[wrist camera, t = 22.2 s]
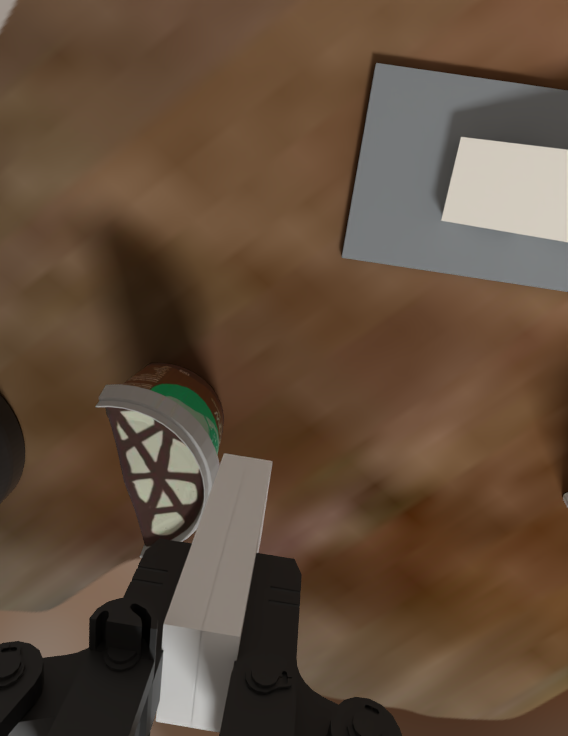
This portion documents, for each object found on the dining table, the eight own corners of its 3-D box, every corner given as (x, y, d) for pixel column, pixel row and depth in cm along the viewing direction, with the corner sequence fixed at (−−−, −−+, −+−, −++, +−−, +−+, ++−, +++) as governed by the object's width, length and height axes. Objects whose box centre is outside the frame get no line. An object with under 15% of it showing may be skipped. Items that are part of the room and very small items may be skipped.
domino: (441, 220, 35) (613, 250, 32) (460, 136, 33) (645, 159, 30) (444, 219, 36) (609, 247, 33) (463, 139, 34) (640, 160, 31)
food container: (250, 476, 45) (230, 557, 36) (179, 482, 46) (141, 564, 36) (223, 335, 41) (192, 387, 32) (145, 345, 42) (92, 398, 32)
